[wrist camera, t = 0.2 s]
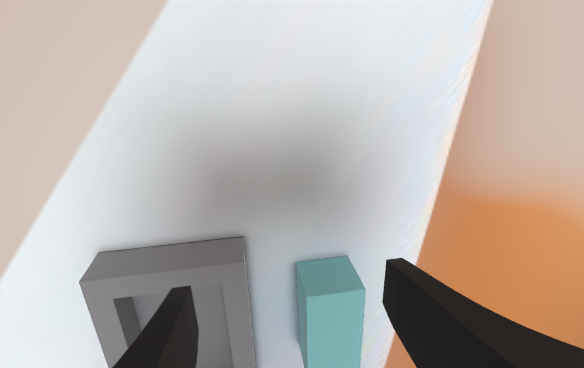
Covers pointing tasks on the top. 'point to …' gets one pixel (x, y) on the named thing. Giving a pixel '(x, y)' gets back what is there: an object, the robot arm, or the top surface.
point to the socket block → (156, 285)
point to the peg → (330, 313)
